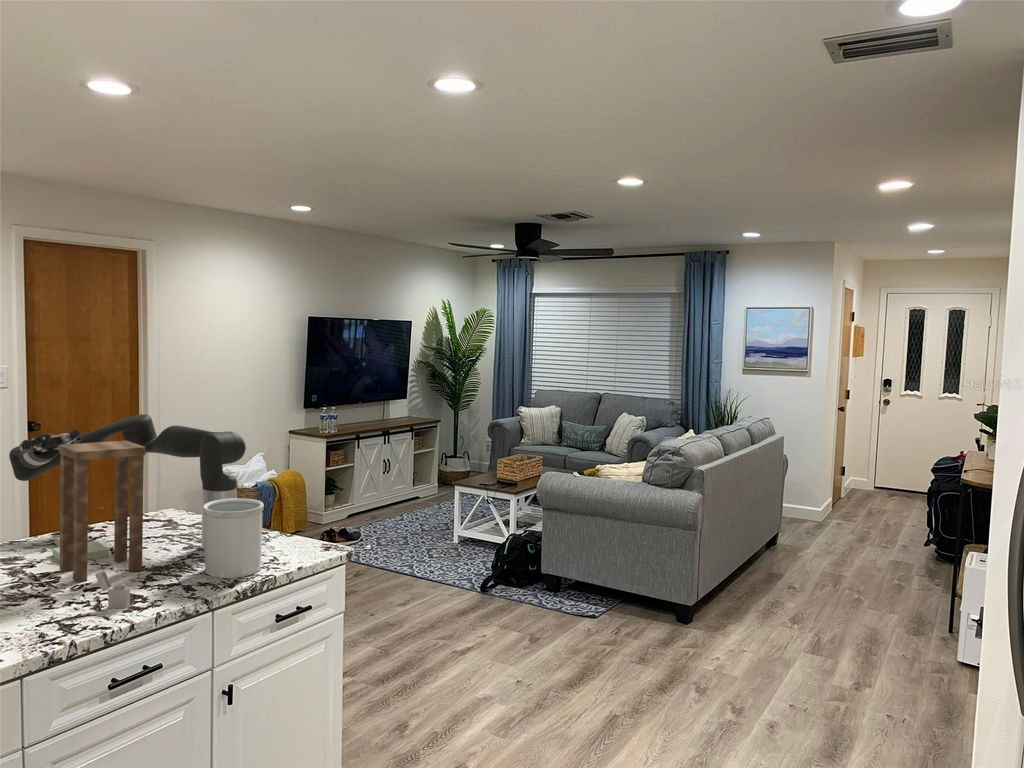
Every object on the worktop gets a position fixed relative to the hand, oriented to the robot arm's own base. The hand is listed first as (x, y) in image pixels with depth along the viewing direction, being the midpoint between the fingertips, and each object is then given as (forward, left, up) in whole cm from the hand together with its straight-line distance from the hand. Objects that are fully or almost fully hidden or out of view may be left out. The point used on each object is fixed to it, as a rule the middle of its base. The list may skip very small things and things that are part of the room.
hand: (59, 435), depth 206 cm
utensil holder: (-16, +48, -32) cm, 60 cm away
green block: (-3, +2, -32) cm, 32 cm away
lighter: (+17, +47, -32) cm, 60 cm away
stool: (+3, +22, -32) cm, 39 cm away
